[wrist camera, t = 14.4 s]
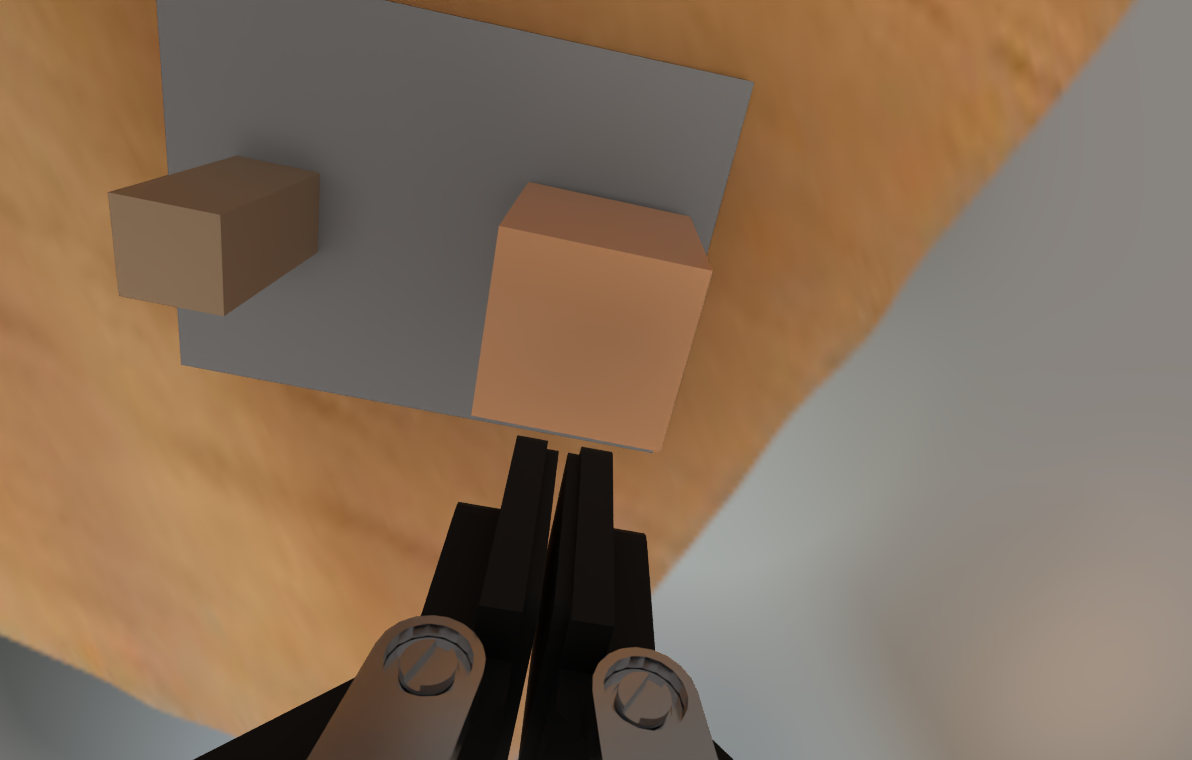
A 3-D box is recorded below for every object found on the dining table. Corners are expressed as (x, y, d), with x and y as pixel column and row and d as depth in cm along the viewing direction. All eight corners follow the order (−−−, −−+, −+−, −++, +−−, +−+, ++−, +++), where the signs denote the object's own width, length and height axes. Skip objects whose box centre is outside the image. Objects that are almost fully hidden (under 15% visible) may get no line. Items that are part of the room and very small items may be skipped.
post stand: (179, -46, 24) (-30, -90, 16) (746, 80, 25) (804, 95, 17) (200, 350, 30) (58, 453, 22) (650, 435, 31) (661, 561, 24)
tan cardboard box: (528, 181, 24) (499, 225, 18) (690, 216, 25) (712, 271, 19) (504, 333, 27) (471, 415, 21) (651, 362, 27) (660, 452, 21)
